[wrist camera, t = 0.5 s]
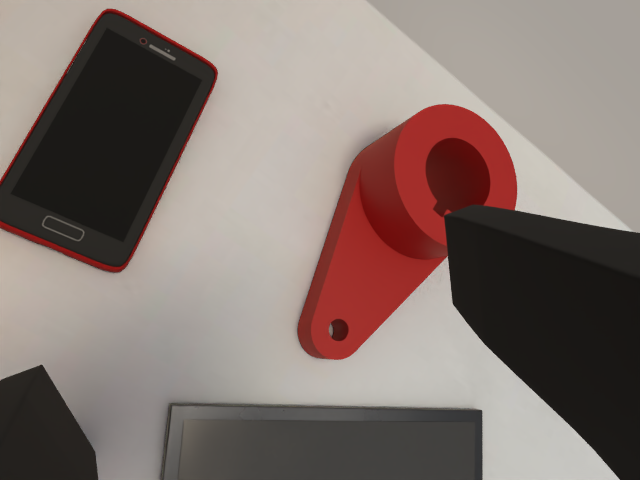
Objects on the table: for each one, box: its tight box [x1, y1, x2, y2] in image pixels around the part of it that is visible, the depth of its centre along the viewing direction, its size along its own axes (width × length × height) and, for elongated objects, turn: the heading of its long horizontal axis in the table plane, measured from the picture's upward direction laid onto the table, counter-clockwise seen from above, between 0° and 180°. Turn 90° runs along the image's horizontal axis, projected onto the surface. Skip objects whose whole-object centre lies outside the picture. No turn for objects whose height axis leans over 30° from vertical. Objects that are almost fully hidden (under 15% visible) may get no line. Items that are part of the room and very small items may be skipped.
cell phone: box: [0, 9, 218, 272], centre depth 32 cm, size 8×15×1 cm, turn 159°
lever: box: [298, 104, 517, 360], centre depth 35 cm, size 18×9×7 cm, turn 146°
